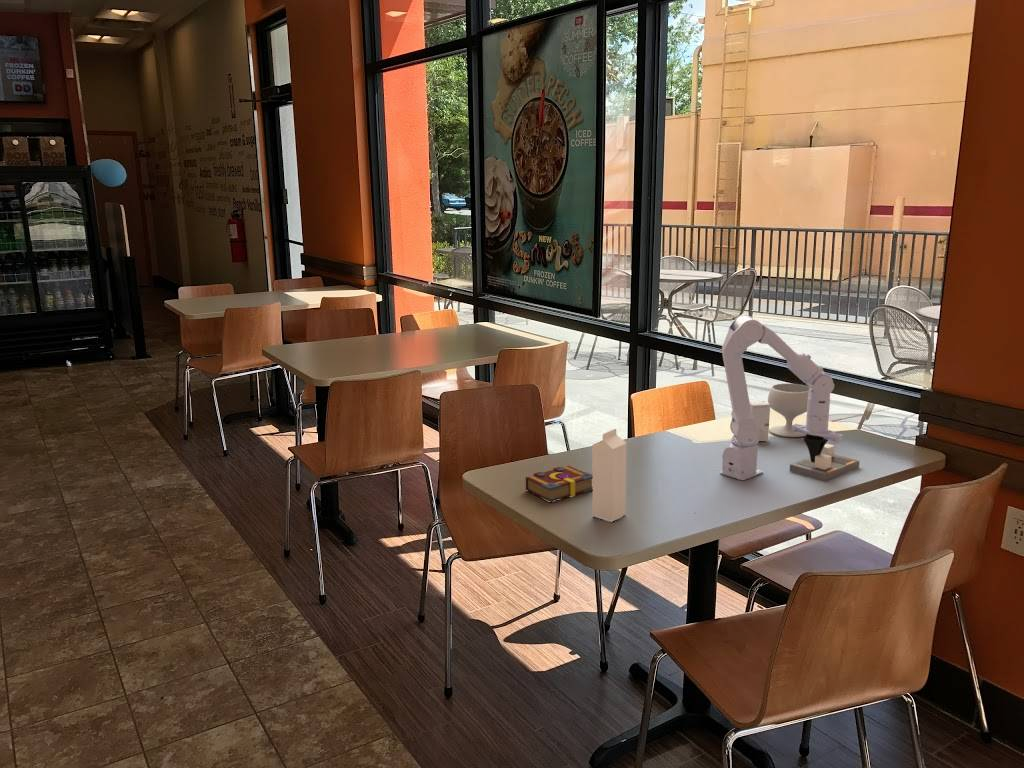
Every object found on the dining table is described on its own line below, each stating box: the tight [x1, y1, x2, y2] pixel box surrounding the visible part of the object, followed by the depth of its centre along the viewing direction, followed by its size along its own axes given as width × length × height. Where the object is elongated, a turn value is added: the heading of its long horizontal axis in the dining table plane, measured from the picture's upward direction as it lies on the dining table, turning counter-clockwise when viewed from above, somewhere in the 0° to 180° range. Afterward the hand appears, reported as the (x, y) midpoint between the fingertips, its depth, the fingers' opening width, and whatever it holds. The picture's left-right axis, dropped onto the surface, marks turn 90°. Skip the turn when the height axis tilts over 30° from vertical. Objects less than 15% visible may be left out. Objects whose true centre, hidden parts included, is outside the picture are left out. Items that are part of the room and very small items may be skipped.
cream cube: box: [821, 443, 835, 457], centre depth 237 cm, size 3×3×3 cm
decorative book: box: [525, 465, 593, 501], centre depth 222 cm, size 11×16×5 cm
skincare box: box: [749, 400, 771, 443], centre depth 260 cm, size 6×4×12 cm
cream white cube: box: [814, 454, 832, 470], centre depth 229 cm, size 3×3×3 cm
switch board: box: [789, 453, 860, 482], centre depth 234 cm, size 17×11×2 cm, turn 128°
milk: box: [592, 428, 627, 521], centre depth 202 cm, size 6×6×22 cm
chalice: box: [767, 382, 810, 438], centre depth 266 cm, size 14×14×15 cm
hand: (814, 461), depth 231 cm, fingers closed
